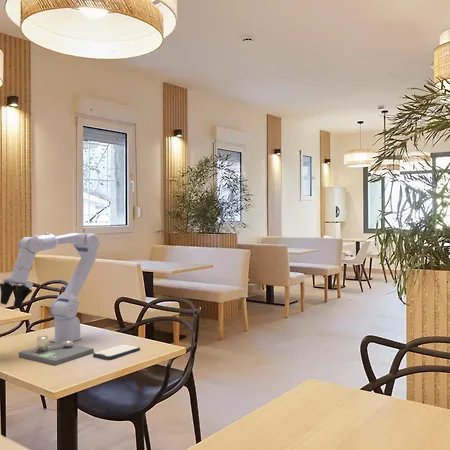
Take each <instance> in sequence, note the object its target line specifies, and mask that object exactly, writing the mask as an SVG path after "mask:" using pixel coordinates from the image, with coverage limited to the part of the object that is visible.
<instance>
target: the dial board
mask: <svg viewBox="0 0 450 450" xmlns="http://www.w3.org/2000/svg"><path fill="white" fill-rule="evenodd" d="M61 344H63V342H51V343H48V346H55V345H61ZM35 348H36V347H33V348H30V349H26V350H22V351H19V352H18V357H20V358H24V359H28V360H32V361H36V362H39V363H45V364H48V365H54V366H57V365H60V364H64V363H66V362H69V361H72V360H76V359H78V358H81V357H85V356H87V355H91V354H93V353H95V352H94V351H95V348H93V347H88V346H85V345H84V346H83V345H78V344H73V346H72V347H61V348H55V349H48V350H47V351H36V352H31V349H35Z"/></svg>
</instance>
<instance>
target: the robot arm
mask: <svg viewBox="0 0 450 450" xmlns="http://www.w3.org/2000/svg"><path fill="white" fill-rule="evenodd" d="M64 244H71V245H73V246H74V248H75V250H76V251H77V253H78V254H79V256H80V259H79V261H78V264H77V265H76V267H75V269H74V271H73V273H72V276H71V278H70V279H69V282H68V283H67V285H66V287H65V289H64V292H62V293H60V294H59V295H58V296H57V298H56V300H54V301H53V302H52V303H51V305H50V314H51V315H52V316H53V318H54V338H52V339H49V341H50V342H51V343H55V342H63V341H64V340H73V342H74V341H77V340H81V339H83V337H82V336H81V321H80V319H79V317H77V314H78V308H79V305H80V300H79V299H78V297H79V295H80V292H81V290H82V288H83V286H84V284H85V282H86V280H87V278H88V276H89V273H90V272H91V270H92V267H93V265H94V263H95V261H96V257H97V254H98V253H97V252H98V249H99V247H100V244H101V243H100V240H99V238H98V236H97V234H96V233H82V232H77V233H75V232H70V233H66V234H62V235H61V234H60V235H57V236H56V235H54V234H53V233H50V232H44V234H40V235H38V234H34V235H33V237H31V236H25V237H23V238H21V239H20V241H18V243H17V247H18V252H17V253H18V254H17V257H16V259H15V262H14V265H13V268H12V271H11V275H10V277H3V280H2V281H1V282H0V293H1V294H0V304H1V305H5V306H6V305H7V304H8V303H9V300H10V297H11V296H12V294H13V293H14V291H15V297H14V302H13V307H16V308H20V307H21V306H22V304H23V303H24V301H25V299H26V298H27V297H28V296H29V294H31V293H33V292H32V291H33V289H32V288H33V286H34V282H31V281H28V278H29V275H30V272H31V270H32V267H33V263H34V261H35V258H36V257H35V256H36V255H37V254H38V253H39V252H42V251H48V250H53V249H55V248H56V247H57V245H64Z"/></svg>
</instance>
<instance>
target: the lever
mask: <svg viewBox="0 0 450 450" xmlns="http://www.w3.org/2000/svg"><path fill="white" fill-rule="evenodd" d="M48 342H49V339H48V336H47V335H39V336H37V337H36V347H34V348H35V349H33V348H30V349H31V352H36V351H47V350H48V349H55V348H61V347H72V346H73V345H74V341H73V340H64V341H63V344H61V345H55V346H48V344H49V343H48Z"/></svg>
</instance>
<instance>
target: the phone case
mask: <svg viewBox="0 0 450 450" xmlns="http://www.w3.org/2000/svg"><path fill="white" fill-rule="evenodd" d="M140 350H141V348H140V346H136V345H133V344H120V345H115V346H113V347H109V348H105V349H103V350H99V351H96V352H94V353H92V356H93V357H94V358H97V359H102V360H106V361H111V360H114V359H117V358H121V357H123V356H127V355H129V354H132V353H135V352H138V351H140Z"/></svg>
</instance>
